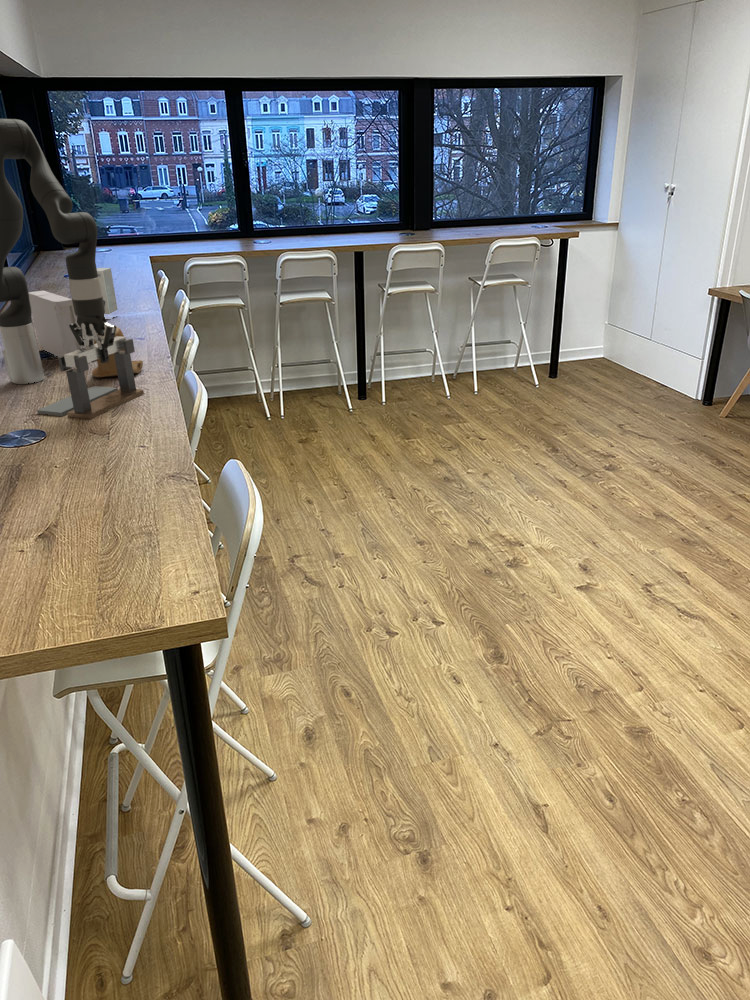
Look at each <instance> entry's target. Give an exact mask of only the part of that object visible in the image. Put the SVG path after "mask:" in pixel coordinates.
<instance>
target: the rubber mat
mask: <svg viewBox="0 0 750 1000" xmlns="http://www.w3.org/2000/svg"><path fill="white" fill-rule="evenodd" d="M87 389H88V394H89V399H90V402H92V401H94V400H97V399H99V398H101V397H103V396H106V395H108V394H110V393H112V392H115V391H117V390H118V387H111V386H99V385H98V386H97V385H94V386H91V387H89V388H87ZM72 410H74V407H73V402H72V398H71V395H70V396H67V397H65V398H63V399H60V400H58V401H56V402H55V401H54V402H53V403H50V404H48V405H46V406H43V407H42V408H39V409H37V410H36V411H37V414H38V415H45V414H48V416H54V415H55V416H56V417H64V416H66V415H68V414H67V412H70V411H72Z"/></svg>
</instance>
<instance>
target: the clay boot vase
mask: <svg viewBox="0 0 750 1000" xmlns="http://www.w3.org/2000/svg"><path fill="white" fill-rule="evenodd" d="M104 330H105V329H104ZM105 333H106V332H105ZM100 336H101V335H99V337H100ZM116 336H120V337H125V336H124V333H123V332H122V330H121V328H120V327H118V326H116V332H115V337H116ZM101 342H102V340H101ZM96 343H97V342H96V341H95V340H94V344H96ZM120 351H124V349H123V350H120ZM118 352H119V351H118ZM115 353H116V352H115ZM131 362H132V368H133V373H134V375H135V374H139V373H140V372H141V371H142V369H143V365H144V361H143V360H131ZM96 363H97V367H95V368H94V369H93V370H92V371H91V374H92V376H94V377H95V378H109V377H118V373H117V368H116V362H115V356H114V353H113V354H110V355H109V360H108V362H106V363H101V361H100V358H99V359H97V361H96Z"/></svg>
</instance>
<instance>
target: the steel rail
mask: <svg viewBox="0 0 750 1000" xmlns="http://www.w3.org/2000/svg"><path fill="white" fill-rule="evenodd" d="M125 340H127V336H124V337H120V336H116V337H114V342H113V345H112V346H109V347H108V348H107V350H108V355H110V354H113V353H115V352H118V351H120V350H123V349H124V345H123V341H125ZM102 344H103V343H102ZM81 356H86V357H87V362H88V364H89V363H92V362H91V361H94V360H97V359H99V358H100V354H99V348H98V345H97V343H96V344H94V345H91V346H88V347H83V348H82V349H79V350H77V351H74V352H71V353H68V354H65V355H64V358H65V363H66V367H72V368H77V366H76V361H75V359H76V358H79V357H81Z"/></svg>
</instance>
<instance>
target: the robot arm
mask: <svg viewBox="0 0 750 1000" xmlns="http://www.w3.org/2000/svg"><path fill="white" fill-rule="evenodd" d="M22 159H24V160H25V161H26V162H27V163H28V164H29V166H30V167H31V169H30V177H29V178H30V179H29V185H30V189H31V193H32V194H33V196H34V198H35V200H36V202H38V204H39V205H40V207H41V208H42V210H43V211H44V213H45V215H46V217H47V220H48V223H49V226H50V230H51V233H52V236H53V237H54V238H55V240H56V241H57V242H59V243H60V244H64V245H73V244H79V246H78V249H77V250H76V251H75V252H72V253H69V254H68V255H66V257H65V264H66V270H67V276H68V282H69V283H68V284H69V291H70V292H69V293H70V296H71V299H72V302H73V308H74V313H75V315H76V316H77V322H75V323H73V324H70V325H69V327H70V329H71V331H72V333H73V334H74V336H75V338H76V340H77V342H78V344H79V345H80V346H83V348H85V347H88V346H91V345H94V340H95V341H96V342H97V345H98V348H99V354H100V361H101V363H106V362H108V360H109V355H108V350H107V348H108V347H109V346H112V345H113V342H114V337H115V332H116V327H117V325H116V324H111V323H108V321H107V319H105V317H104V314H105V307H104V302H103V296H102V290H101V285H100V282H99V279H98V273H97V268H98V267H97V263H96V254H97V243H98V241H97V240H98V227H97V223H96V220H95V219H94V217H93V216H92V215H91V214H90V213H88V212H87V211H86V212H85V211H84V212H83V211H80V212H79V211H78V212H72V211H73V206H74V205H73V202H72V198H70V196H69V194H68V193H67V192H66V190H65V189H64V188H63V187H64V186H62V185H61V183H60V182H59V180H58V179H57V178H56V175H54V172H53V171H52V169H51V167H50V165H49V162H48V161H47V158H46V157H45V154H44V152H43V150H42V147H41V146H40V144H39V142H38V140H37V137H36V136H35V134H34V132H33V131H32V129H31V127H30V126H29V125H28V123H27V122H25V121H24V120H21V119H17V118H0V303H4V302H10V303H9V306H8V307H7V308H6V309H5V310H4V311H2V312H1V313H0V335H1V340H2V344H3V348H4V349H3V351H2V355H3V359H4V363H5V367H6V372H7V375H8V379H9V382H11V383H13V384H17V385H27V384H28V383H29V384H34V382H35V383H39V382H41V381H43V380H45V377H46V376H45V374H44V368H43V363H42V359H41V354H40V350H39V346H38V345H39V344H38V342H37V341H38V339H37V335H36V332H35V326H34V322H33V317H32V310H31V305H30V300H29V288H28V283H27V279H26V276H25V274H24V272H23V271H22V270H21V269H20V267H17V266H5V263H6V260H7V257H8V256H9V254H10V252H11V251H12V250H13V248H14V247H15V245H16V244H17V242H18V240H19V239H20V238H21V235H22V232H23V227H24V225H23V224H24V222H23V221H24V208H23V207H24V206H23V205H22V201H21V200H20V198H19V197H18V195H17V194H16V192H15V191H14V189H13V187H12V186H11V185H10V183H9V181H8V179H7V177H6V174H5V165H4V164H5V160H22ZM104 329H105V330H104ZM105 332H106V333H105ZM99 335H101V336H100V337H99ZM80 337H81V338H80ZM101 340H102V342H101ZM102 343H103V344H102ZM95 362H97V360H94V361H91V362H90V363H95Z"/></svg>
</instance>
